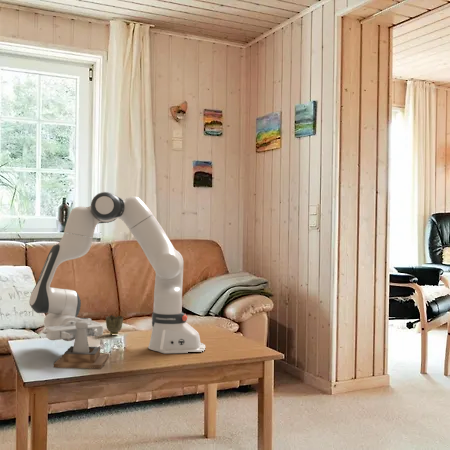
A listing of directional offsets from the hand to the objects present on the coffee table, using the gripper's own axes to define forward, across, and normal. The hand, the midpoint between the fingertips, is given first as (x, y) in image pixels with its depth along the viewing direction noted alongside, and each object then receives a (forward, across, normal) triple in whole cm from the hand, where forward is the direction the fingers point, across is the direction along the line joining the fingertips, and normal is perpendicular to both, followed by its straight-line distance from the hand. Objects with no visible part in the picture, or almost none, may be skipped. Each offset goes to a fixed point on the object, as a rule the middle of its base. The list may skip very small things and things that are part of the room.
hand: (83, 335), depth 205 cm
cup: (-36, +30, +10) cm, 48 cm away
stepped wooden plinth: (0, 0, +10) cm, 10 cm away
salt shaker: (-1, 0, +8) cm, 9 cm away
